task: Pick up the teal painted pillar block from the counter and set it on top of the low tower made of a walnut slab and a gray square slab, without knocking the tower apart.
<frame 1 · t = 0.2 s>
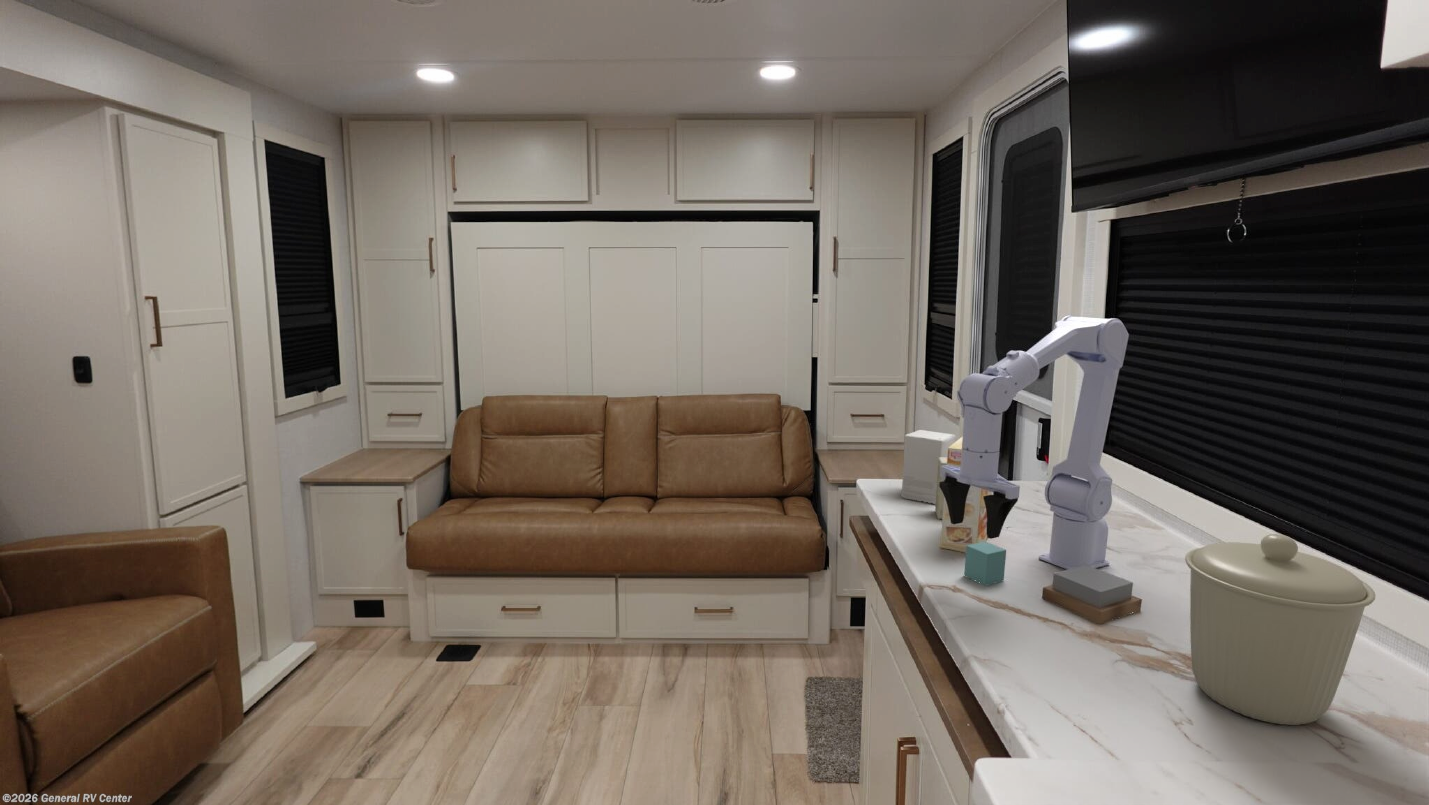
hand: (974, 530, 124), 10 cm above the countertop, tool pointing down, fingers open, 7 cm apart
supplement box: (926, 498, 175), on the countertop
canister: (1255, 702, 92), on the countertop
walnut slab: (1090, 608, 119), on the countertop, touching gray square slab
gray square slab: (1091, 593, 119), point 2 cm above the countertop, touching walnut slab
coffeecake box: (966, 541, 147), on the countertop
skincare box: (946, 516, 162), on the countertop
teal block: (983, 578, 128), on the countertop
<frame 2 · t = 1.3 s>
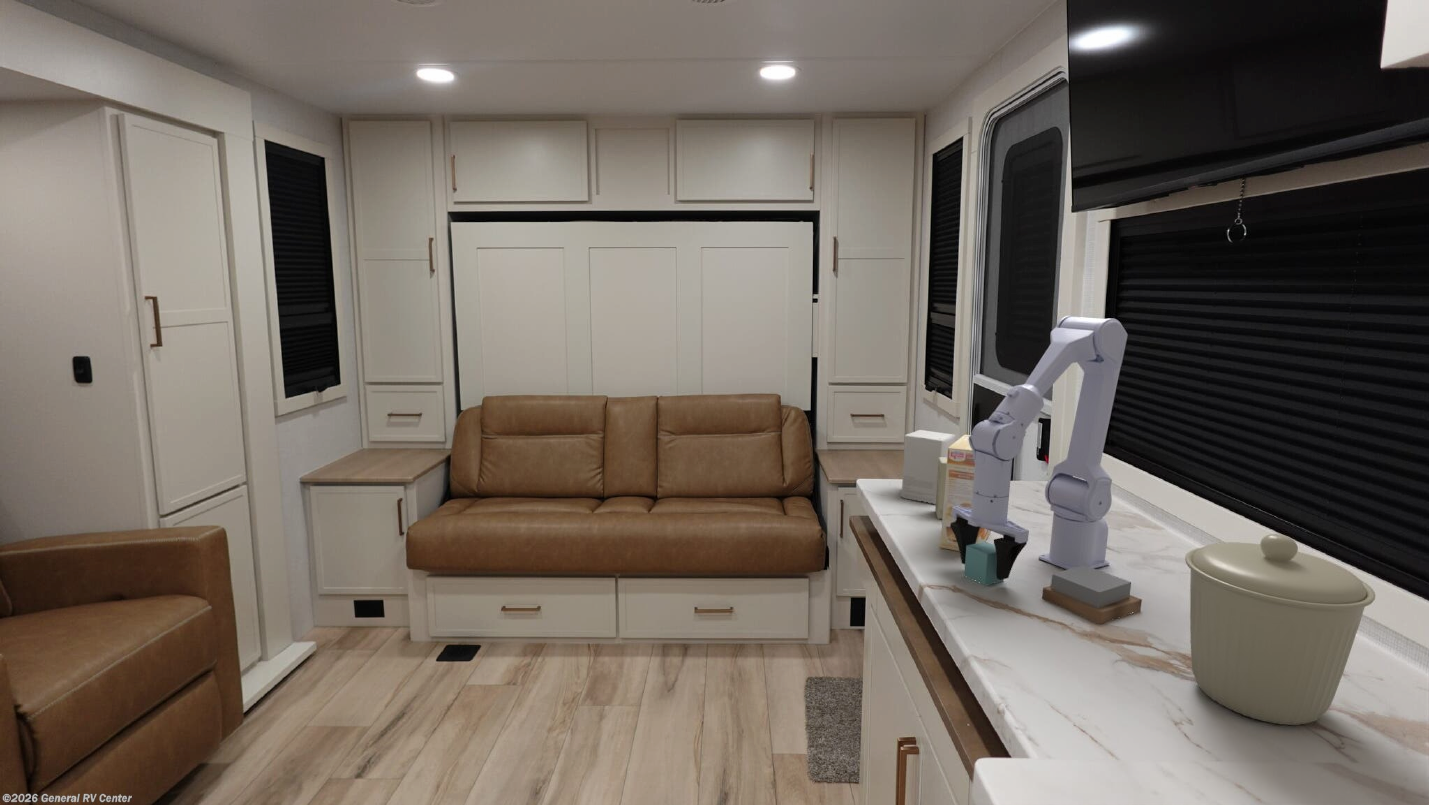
hand: (984, 570, 128), 1 cm above the countertop, tool pointing down, fingers open, 7 cm apart
nothing on the countertop moved.
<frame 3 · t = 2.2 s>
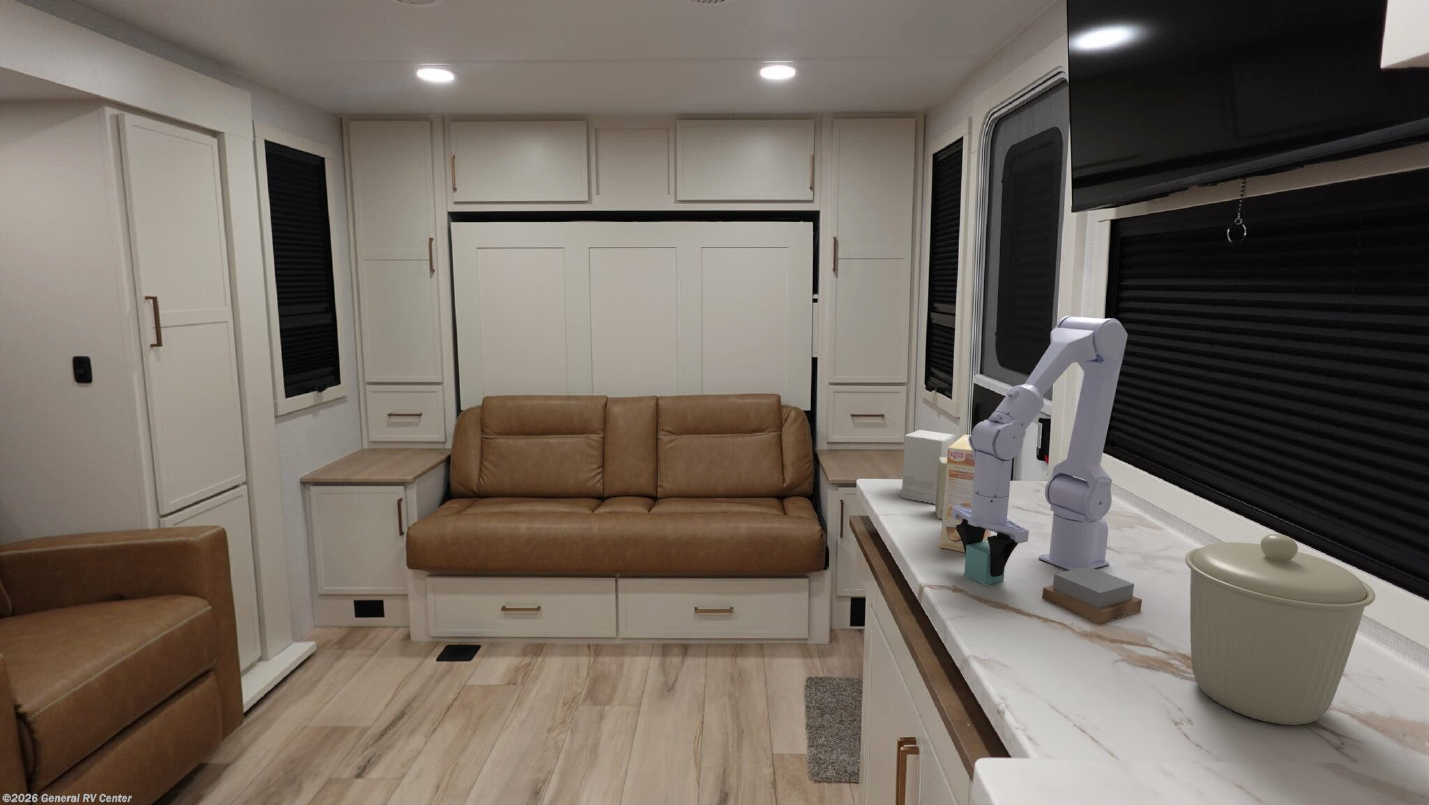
hand: (984, 570, 128), 1 cm above the countertop, tool pointing down, fingers closed on teal block, 4 cm apart
teal block: (983, 578, 128), on the countertop, touching gripper
everything else where it was.
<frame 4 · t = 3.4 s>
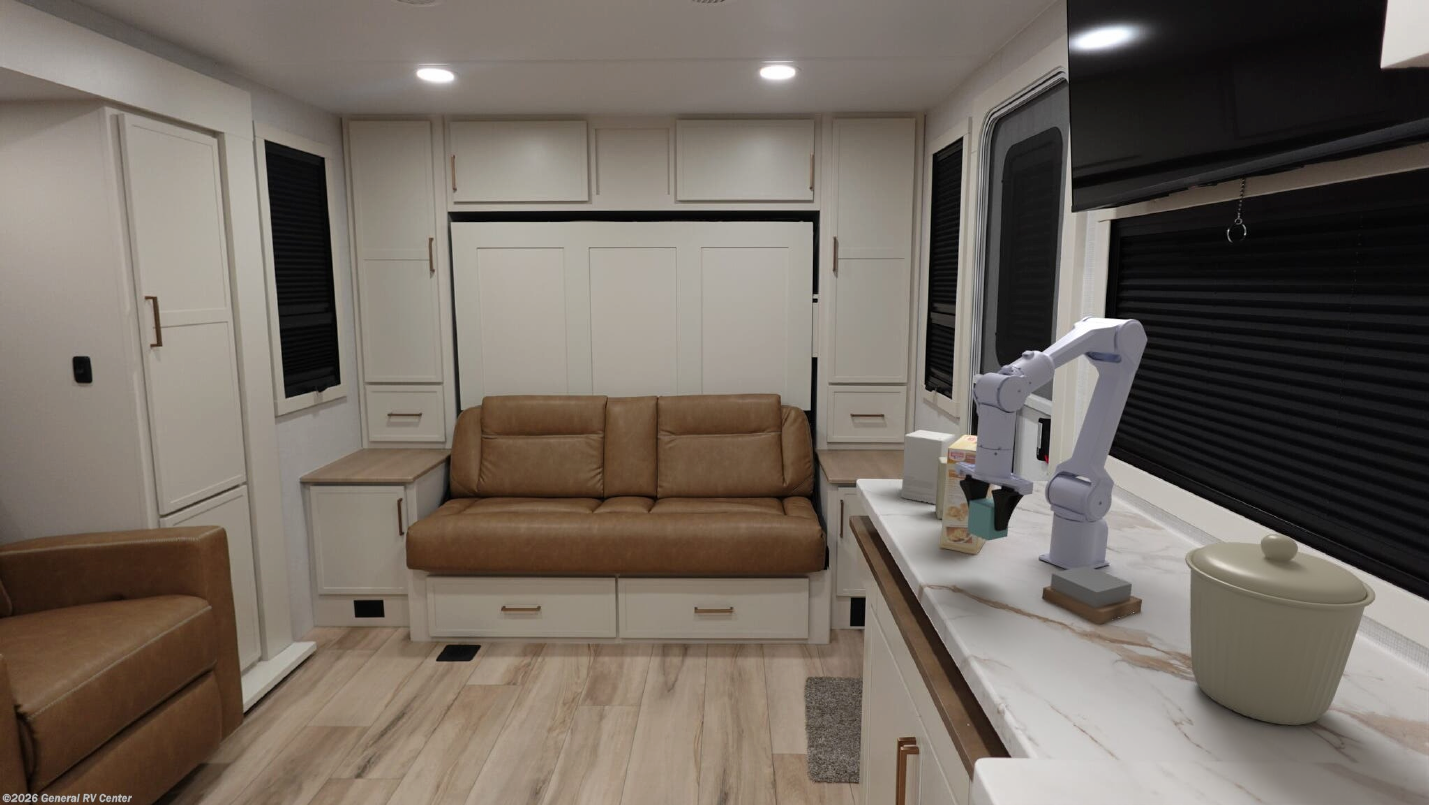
hand: (988, 525, 127), 9 cm above the countertop, tool pointing down, fingers closed on teal block, 4 cm apart
teal block: (987, 534, 127), point 8 cm above the countertop, touching gripper
everything else where it was.
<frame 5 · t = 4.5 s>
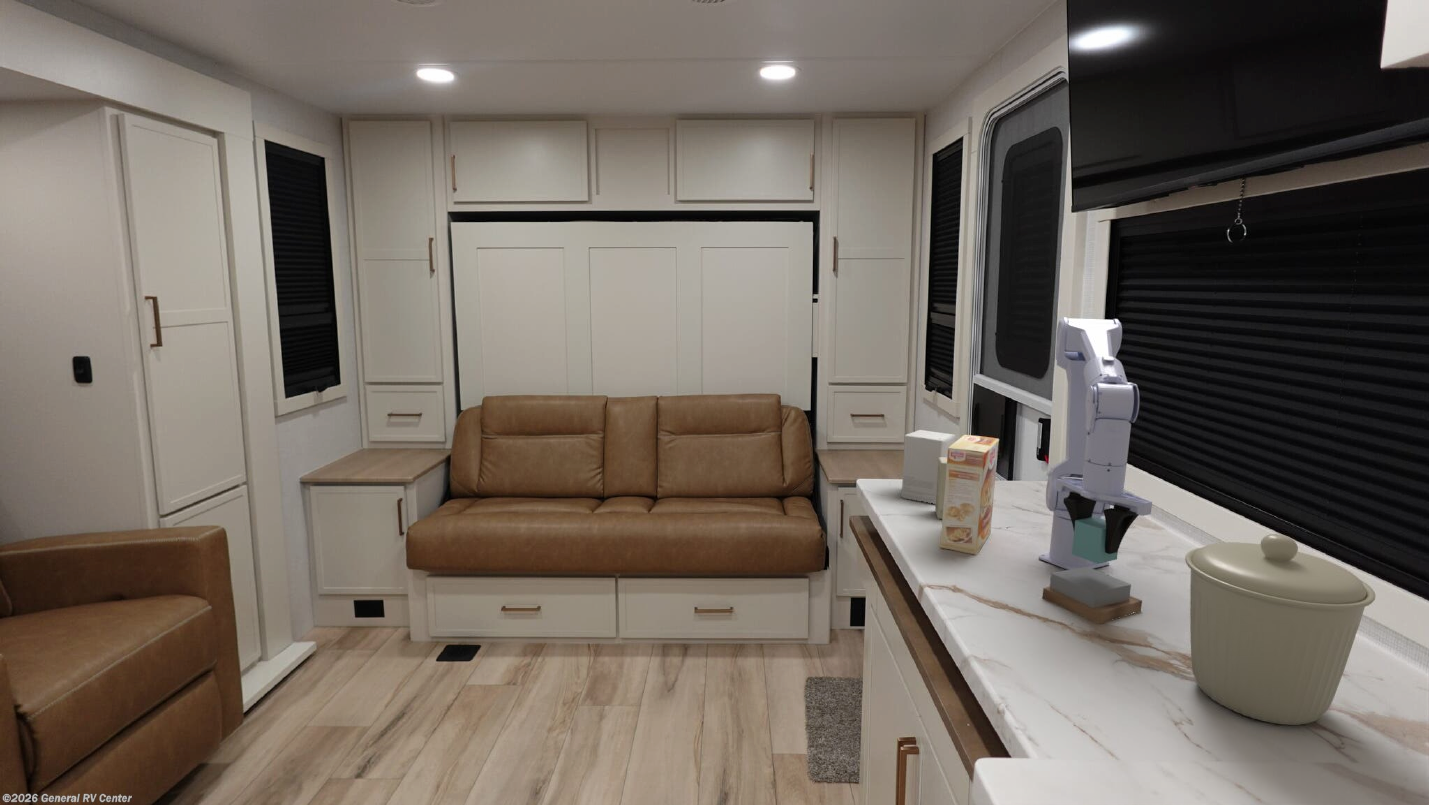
hand: (1096, 547, 117), 9 cm above the countertop, tool pointing down, fingers closed on teal block, 4 cm apart
teal block: (1094, 556, 117), point 8 cm above the countertop, touching gripper
everything else where it was.
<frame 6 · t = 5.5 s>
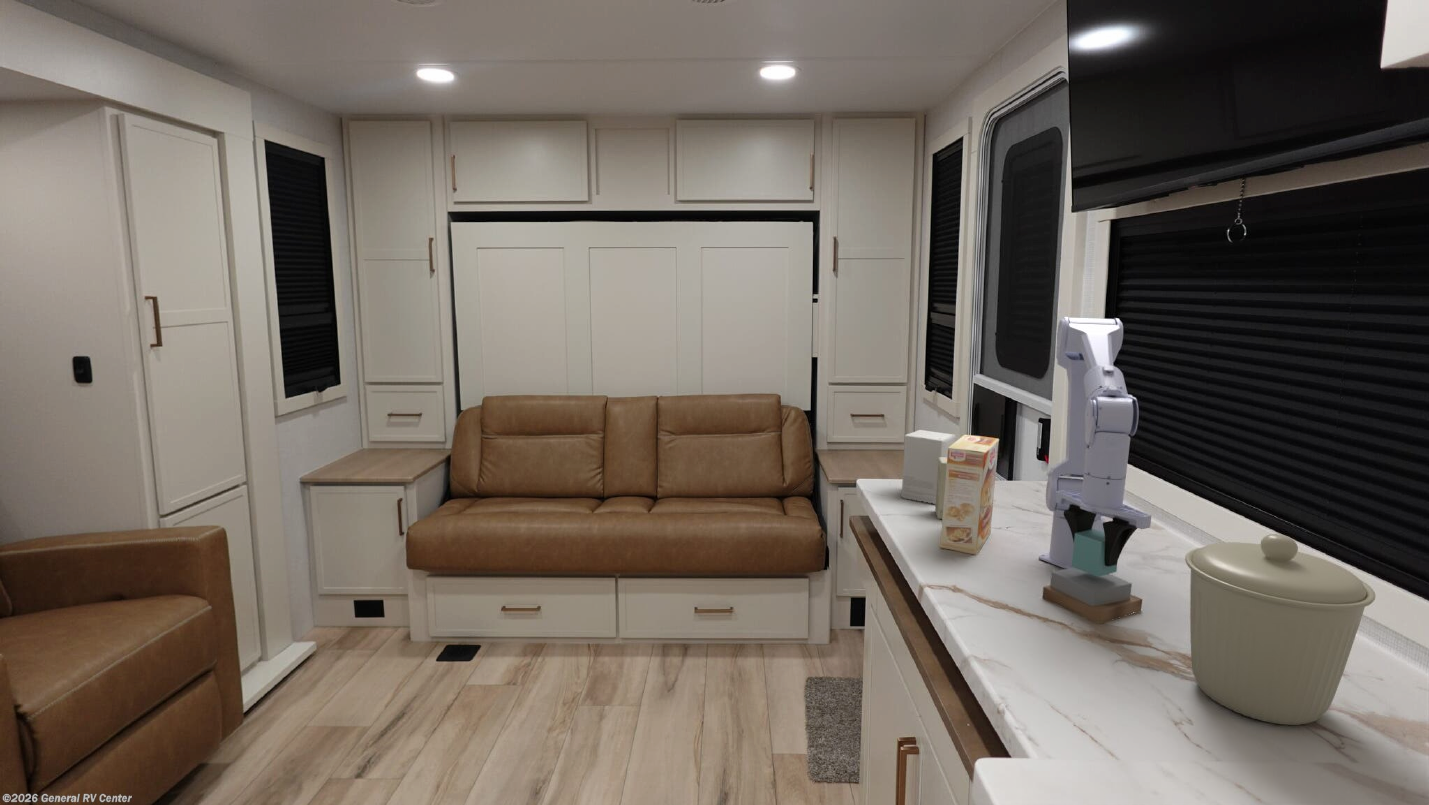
hand: (1095, 559, 118), 7 cm above the countertop, tool pointing down, fingers closed on teal block, 4 cm apart
walnut slab: (1090, 608, 119), on the countertop
gray square slab: (1089, 592, 119), point 2 cm above the countertop
teal block: (1093, 569, 118), point 6 cm above the countertop, touching gripper
everything else where it was.
when the fingers open (7 cm above the countertop, at t = 5.8 s): teal block drops 2 cm, resting on gray square slab.
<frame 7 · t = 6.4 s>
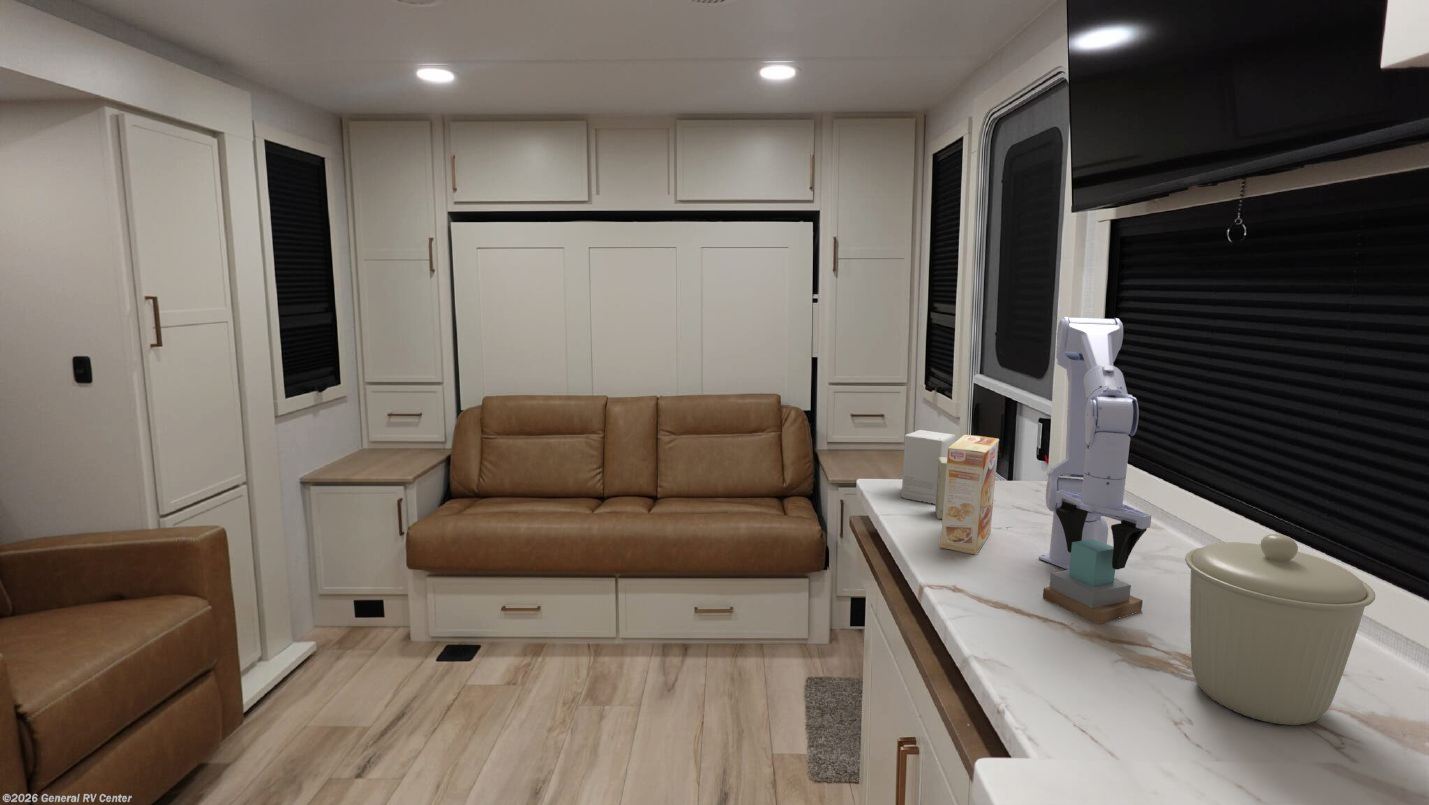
hand: (1095, 559, 118), 7 cm above the countertop, tool pointing down, fingers open, 7 cm apart
walnut slab: (1090, 609, 119), on the countertop, touching gray square slab
gray square slab: (1088, 594, 119), point 2 cm above the countertop, touching teal block, walnut slab
teal block: (1090, 578, 118), point 4 cm above the countertop, touching gray square slab
everything else where it was.
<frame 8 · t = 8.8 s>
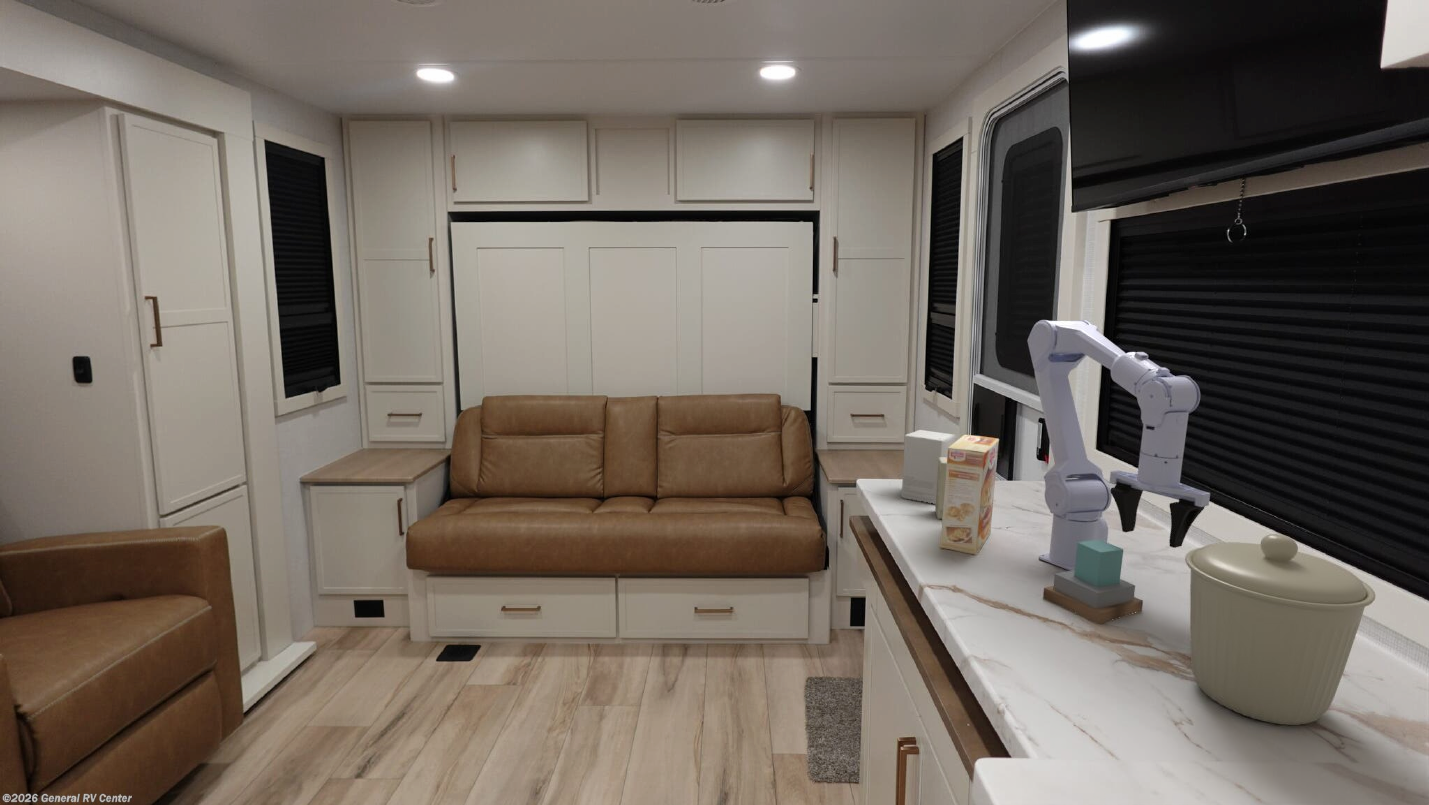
hand: (1151, 538, 119), 10 cm above the countertop, tool pointing down, fingers open, 7 cm apart
at the end: teal block 0.2 cm off-centre on the walnut slab, point 5.0 cm above the walnut slab's base; gray square slab 0.2 cm off-centre on the walnut slab, point 2.5 cm above the walnut slab's base; teal block tilted 0° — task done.
